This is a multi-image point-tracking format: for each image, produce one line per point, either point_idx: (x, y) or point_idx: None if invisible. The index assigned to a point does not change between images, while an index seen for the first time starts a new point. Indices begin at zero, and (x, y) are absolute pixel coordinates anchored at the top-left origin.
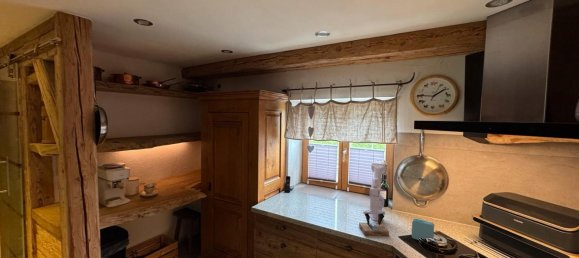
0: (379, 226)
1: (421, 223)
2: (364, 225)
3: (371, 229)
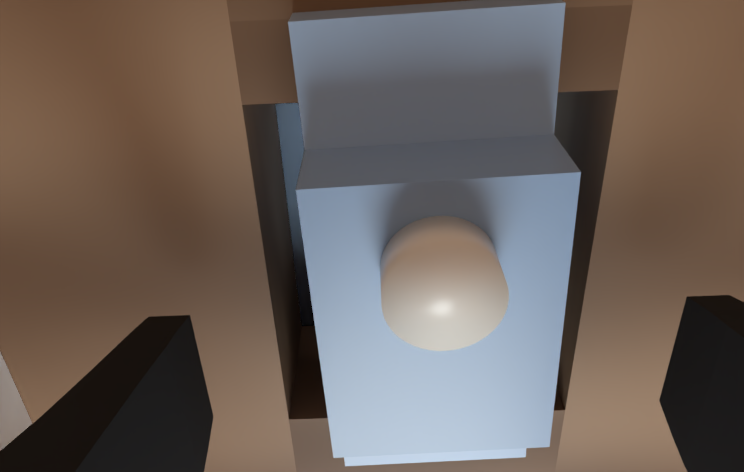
0: None
1: None
2: None
3: (615, 82)
